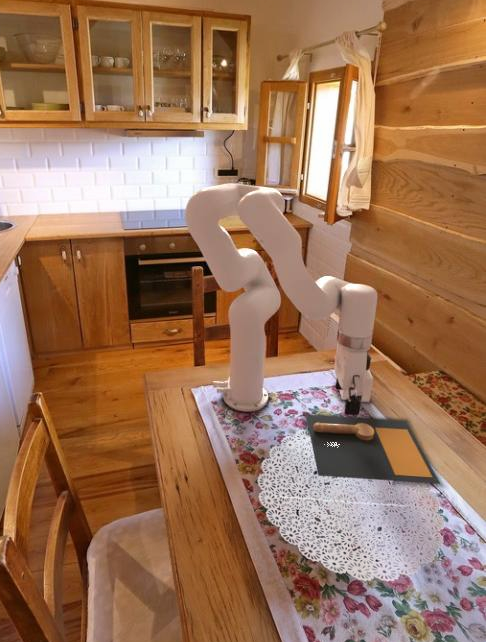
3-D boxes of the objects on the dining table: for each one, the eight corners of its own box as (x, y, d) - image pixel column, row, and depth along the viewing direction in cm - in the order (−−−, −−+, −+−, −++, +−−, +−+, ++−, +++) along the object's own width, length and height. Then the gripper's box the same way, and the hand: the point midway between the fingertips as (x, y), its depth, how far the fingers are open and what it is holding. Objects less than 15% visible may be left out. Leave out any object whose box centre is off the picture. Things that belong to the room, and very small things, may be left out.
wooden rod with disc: (314, 437, 100) (315, 430, 99) (311, 424, 104) (312, 417, 103) (375, 441, 99) (377, 433, 98) (370, 428, 103) (371, 421, 103)
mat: (318, 476, 89) (318, 474, 89) (305, 415, 108) (305, 414, 108) (440, 484, 87) (440, 483, 87) (405, 421, 106) (405, 420, 106)
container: (363, 386, 120) (369, 347, 116) (369, 402, 113) (377, 362, 109) (336, 384, 121) (342, 345, 117) (341, 400, 114) (347, 360, 110)
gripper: (330, 320, 101) (324, 380, 106) (346, 357, 85) (338, 424, 90) (360, 321, 101) (353, 381, 106) (383, 358, 84) (373, 426, 90)
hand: (346, 401), depth 98 cm, fingers open, 9 cm apart
